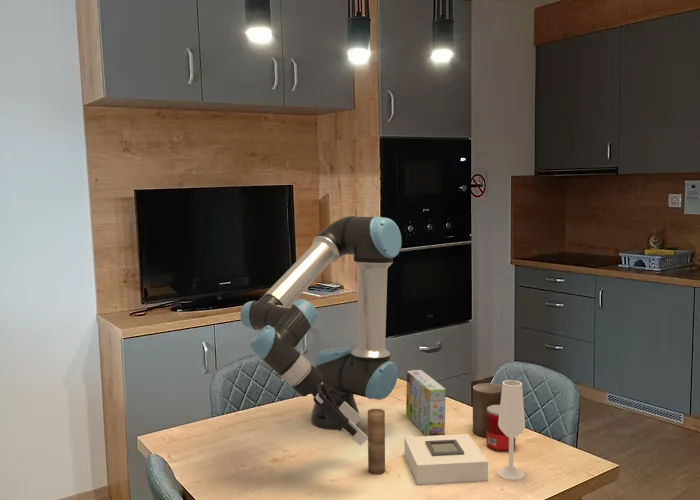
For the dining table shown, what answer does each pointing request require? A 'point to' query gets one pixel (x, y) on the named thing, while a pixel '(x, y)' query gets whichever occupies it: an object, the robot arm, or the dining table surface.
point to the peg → (376, 441)
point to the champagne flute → (511, 422)
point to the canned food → (496, 431)
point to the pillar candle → (484, 405)
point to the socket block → (445, 459)
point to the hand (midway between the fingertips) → (361, 431)
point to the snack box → (425, 403)
